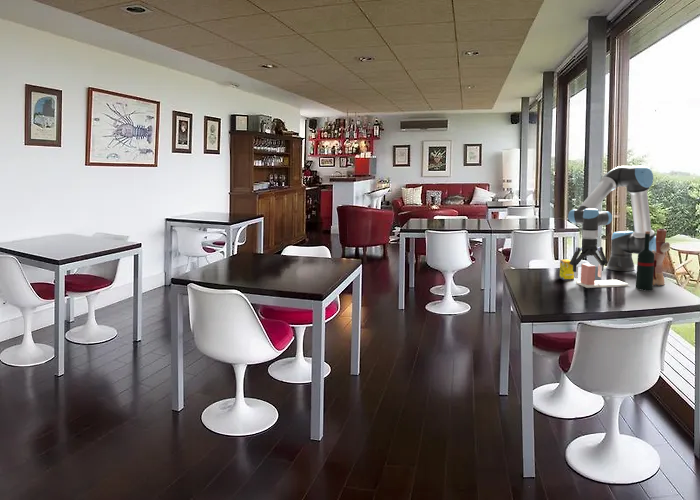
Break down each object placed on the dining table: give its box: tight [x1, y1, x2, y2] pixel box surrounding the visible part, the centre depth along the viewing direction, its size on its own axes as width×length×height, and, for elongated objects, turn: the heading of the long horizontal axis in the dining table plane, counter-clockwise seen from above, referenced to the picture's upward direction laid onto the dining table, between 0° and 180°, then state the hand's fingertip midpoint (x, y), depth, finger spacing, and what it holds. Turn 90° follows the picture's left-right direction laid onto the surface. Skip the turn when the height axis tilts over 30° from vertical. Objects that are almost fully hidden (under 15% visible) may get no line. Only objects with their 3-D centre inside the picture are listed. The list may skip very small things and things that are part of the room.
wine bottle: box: [635, 231, 657, 292], centre depth 297 cm, size 8×10×30 cm
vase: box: [652, 228, 671, 287], centre depth 306 cm, size 11×7×30 cm
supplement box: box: [559, 259, 575, 281], centre depth 324 cm, size 6×6×11 cm
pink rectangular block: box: [575, 263, 600, 289], centre depth 308 cm, size 7×11×11 cm, turn 7°
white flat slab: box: [595, 279, 630, 288], centre depth 310 cm, size 16×11×1 cm
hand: (587, 277), depth 308 cm, fingers open, 13 cm apart
